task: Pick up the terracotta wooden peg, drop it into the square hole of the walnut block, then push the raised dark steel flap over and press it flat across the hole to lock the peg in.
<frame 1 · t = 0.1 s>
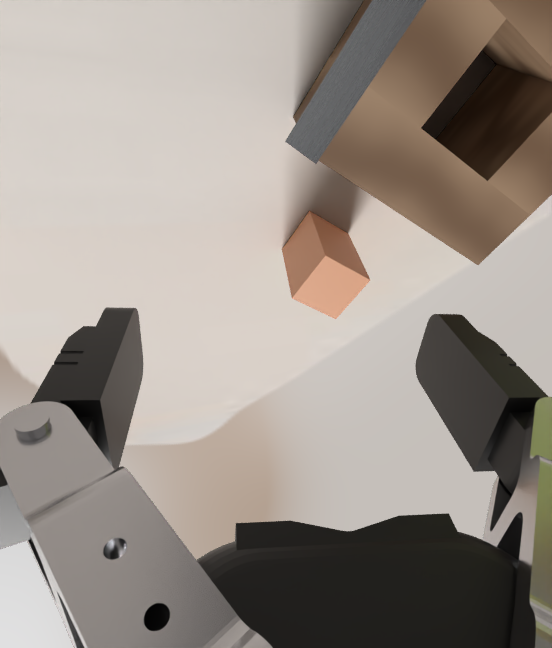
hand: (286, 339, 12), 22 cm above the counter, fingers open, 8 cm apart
peg: (314, 241, 35), on the counter
hole block: (437, 79, 28), on the counter
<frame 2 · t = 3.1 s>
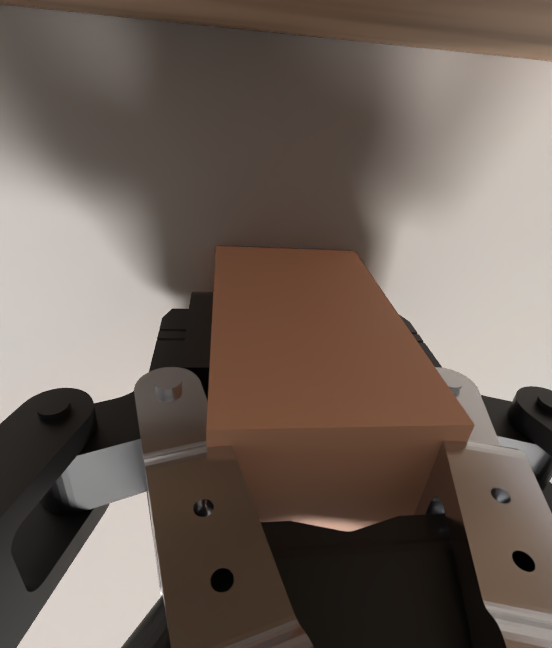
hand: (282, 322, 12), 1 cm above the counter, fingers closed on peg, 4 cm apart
peg: (280, 309, 13), on the counter, touching gripper
when the fingers open (10 cm above the counter, at t = 8.2 s): peg drops 9 cm, resting in hole block.
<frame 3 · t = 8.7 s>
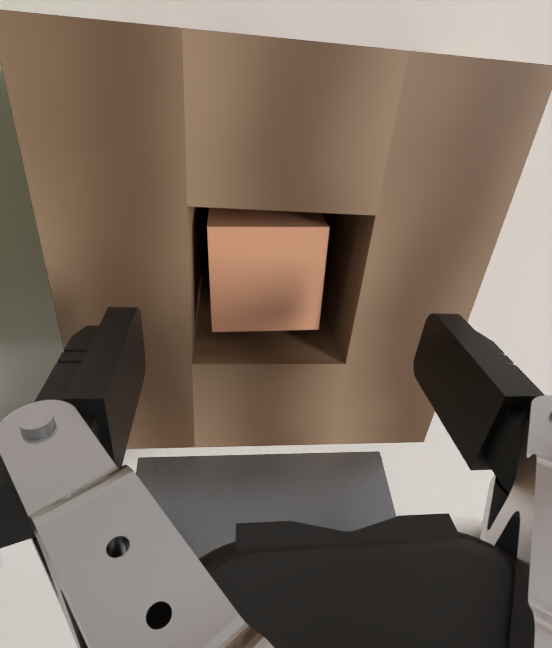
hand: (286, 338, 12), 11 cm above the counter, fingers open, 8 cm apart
peg: (255, 219, 21), resting in hole block
hole block: (259, 219, 21), on the counter
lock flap: (272, 634, 14), point 14 cm above the counter, hinge at 106.0°
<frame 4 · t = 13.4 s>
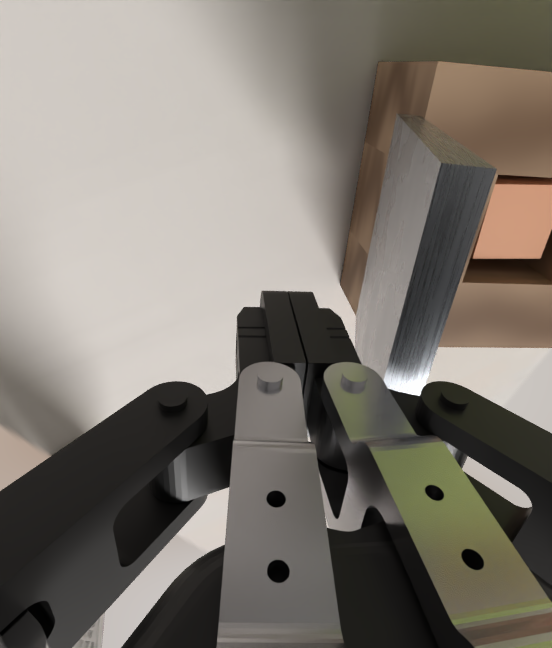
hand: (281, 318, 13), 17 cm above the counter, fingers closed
peg: (457, 189, 28), resting in hole block
hole block: (457, 193, 28), on the counter
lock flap: (391, 278, 15), point 14 cm above the counter, hinge at 105.6°, touching gripper
skyscraper: (96, 472, 39), on the counter
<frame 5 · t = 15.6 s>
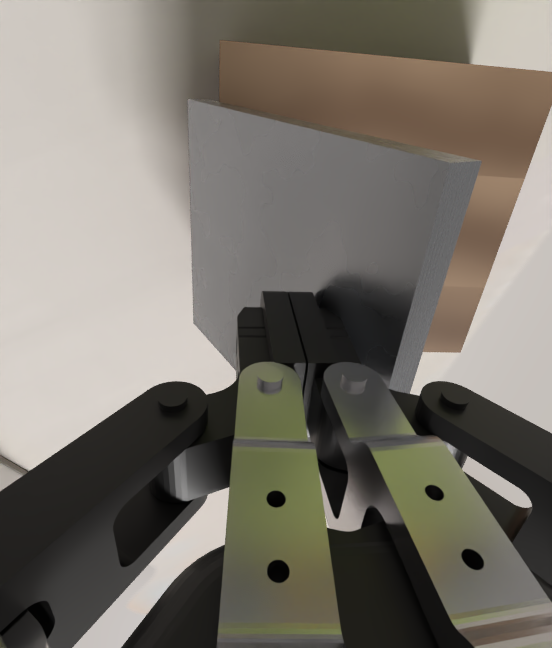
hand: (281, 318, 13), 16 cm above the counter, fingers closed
hole block: (333, 188, 27), on the counter
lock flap: (274, 277, 15), point 14 cm above the counter, hinge at 61.3°, touching gripper
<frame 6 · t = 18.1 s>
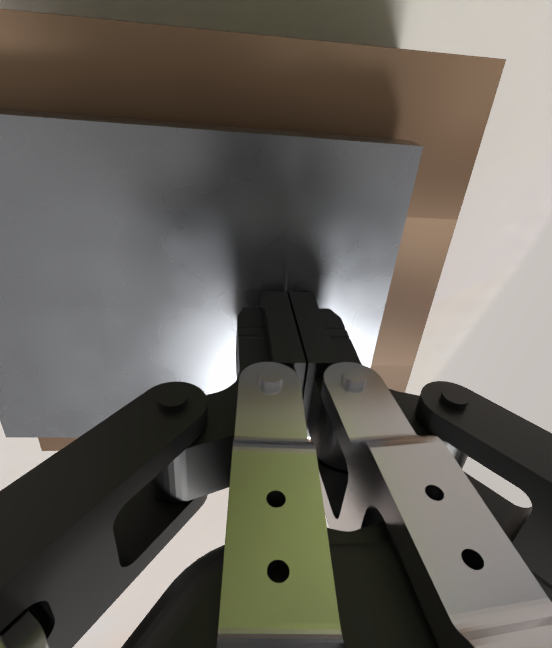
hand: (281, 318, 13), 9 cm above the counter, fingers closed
hole block: (227, 218, 20), on the counter
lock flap: (183, 306, 13), point 9 cm above the counter, hinge at 1.7°, touching gripper
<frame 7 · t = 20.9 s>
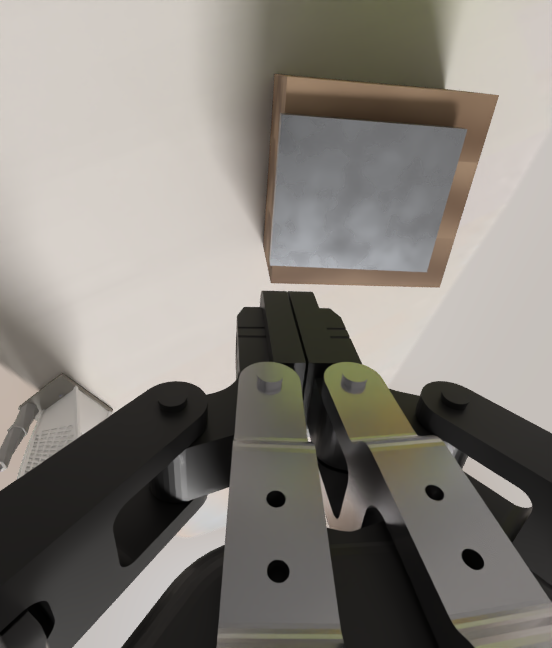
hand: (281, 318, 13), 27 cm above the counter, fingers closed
hole block: (347, 173, 37), on the counter
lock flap: (360, 199, 29), point 9 cm above the counter, hinge at 1.6°
skyscraper: (76, 406, 48), on the counter
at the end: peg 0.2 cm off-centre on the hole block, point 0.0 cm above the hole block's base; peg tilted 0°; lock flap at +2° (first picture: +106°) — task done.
